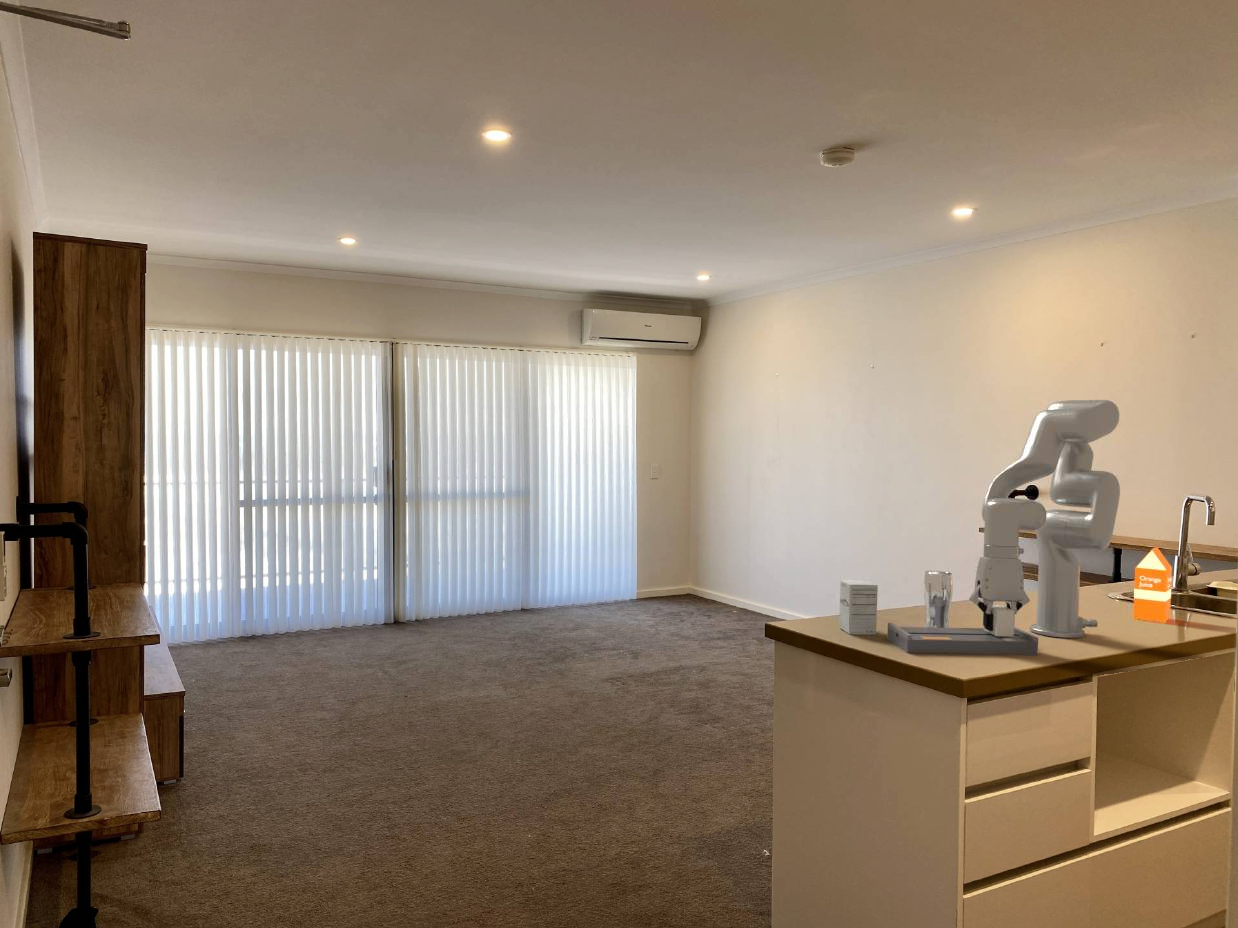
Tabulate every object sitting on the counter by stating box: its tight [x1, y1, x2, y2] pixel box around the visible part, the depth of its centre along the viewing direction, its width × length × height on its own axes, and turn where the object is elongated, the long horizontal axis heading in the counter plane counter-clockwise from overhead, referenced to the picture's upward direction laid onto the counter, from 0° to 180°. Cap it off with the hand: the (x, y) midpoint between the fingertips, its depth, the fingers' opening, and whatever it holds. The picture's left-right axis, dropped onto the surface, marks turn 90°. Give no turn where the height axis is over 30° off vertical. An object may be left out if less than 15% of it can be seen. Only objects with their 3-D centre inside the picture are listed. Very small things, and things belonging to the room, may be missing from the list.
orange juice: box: [1132, 546, 1173, 624], centre depth 246 cm, size 8×9×20 cm
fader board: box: [886, 622, 1039, 656], centre depth 207 cm, size 30×14×4 cm, turn 91°
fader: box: [983, 604, 1015, 636], centre depth 207 cm, size 4×7×7 cm, turn 1°
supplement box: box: [838, 579, 879, 636], centre depth 221 cm, size 7×7×13 cm
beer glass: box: [923, 570, 954, 628], centre depth 224 cm, size 7×7×15 cm
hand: (998, 629), depth 207 cm, fingers closed on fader, 4 cm apart
